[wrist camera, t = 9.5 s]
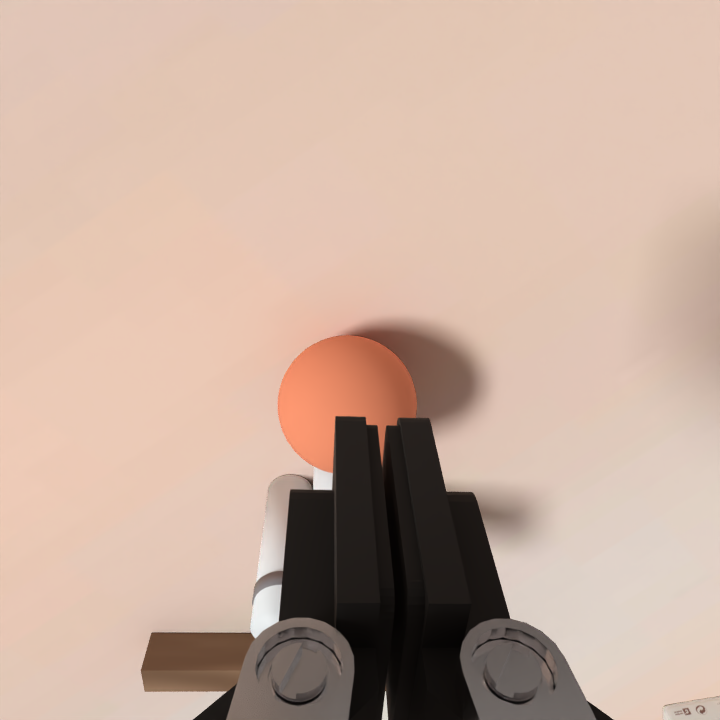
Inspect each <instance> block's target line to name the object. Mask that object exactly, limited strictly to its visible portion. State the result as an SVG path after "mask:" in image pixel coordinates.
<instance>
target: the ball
mask: <svg viewBox="0 0 720 720" xmlns="http://www.w3.org/2000/svg"><path fill="white" fill-rule="evenodd" d="M416 411H417V399H416V391H415V388H414V384H413V381H412V378H411V376H410V374H409V372H408V370H407V368H406V367H405V365H404V364H403V363H402V361H401V360H400V359H399V358H398V357H397V356H396V355H395V354H394V353H393V352H392V351H390V350H389V349H388V348H386V347H385V346H383V345H382V344H380V343H378V342H376V341H373V340H371V339H367V338H364V337H359V336H350V335H346V336H336V337H331V338H327V339H324V340H322V341H319V342H317V343H315V344H313V345H312V346H310V347H308V348H307V349H305V350H304V351H303V352H302V353H301V354H300V355H299V356H298V357H297V358H296V359H295V360H294V361H293V362H292V364H291V365H290V367H289V368H288V370H287V372H286V373H285V376H284V378H283V380H282V383H281V386H280V390H279V396H278V415H279V420H280V424H281V428H282V431H283V433H284V435H285V437H286V439H287V441H288V442H289V444H290V445H291V447H292V448H293V449H294V451H295V452H296V453H297V454H298V455H299V456H300V457H301V458H303V459H304V460H305V461H306V462H308V463H309V464H311V465H313V466H314V467H316V468H318V469H320V470H323V471H326V472H329V473H333V457H334V433H335V416H356V417H366V425H377V426H378V434H379V444H380V453H381V463H382V462H383V451H384V440H385V430H386V426H387V425H396V426H397V420H398V418H416Z"/></svg>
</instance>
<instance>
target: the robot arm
mask: <svg viewBox="0 0 720 720" xmlns="http://www.w3.org/2000/svg"><path fill="white" fill-rule="evenodd" d="M385 687H386V695H387V708H388V720H613V719H612V718H610V717H609V716H608V715H606V714H605V713H603V712H602V711H601V710H599V709H598V708H597V707H595V706H594V705H592V704H591V703H590V702H588V701H587V700H586V698H585V696H584V694H583V692H582V690H581V688H580V686H579V684H578V682H577V680H576V679H575V677H574V675H573V673H572V671H571V669H570V667H569V665H568V663H567V661H566V659H565V657H564V656H563V654H562V653H561V651H560V650H559V648H558V647H557V645H556V644H555V643H554V642H553V641H552V640H551V639H550V638H549V637H547V636H546V635H545V634H544V633H543V632H542V631H540V630H538V629H536V628H534V627H533V626H531V625H529V624H527V623H524V622H520V621H516V620H513V619H510V616H509V612H508V609H507V605H506V602H505V598H504V595H503V591H502V588H501V584H500V580H499V577H498V573H497V570H496V566H495V563H494V559H493V556H492V552H491V549H490V545H489V542H488V538H487V535H486V531H485V528H484V524H483V520H482V517H481V513H480V510H479V506H478V503H477V500H476V497H475V495H474V494H473V493H472V492H446V489H445V484H444V480H443V475H442V471H441V467H440V462H439V458H438V453H437V449H436V445H435V440H434V436H433V431H432V427H431V423H430V419H429V418H398V420H397V426H396V425H387V426H386V430H385V440H384V451H383V462H382V463H381V453H380V444H379V434H378V426H377V425H366V417H356V416H335V433H334V457H333V480H332V490H305V489H290V495H289V506H288V518H287V530H286V541H285V553H284V564H283V576H282V588H281V599H280V611H279V622H277V623H275V624H273V625H272V626H270V627H268V628H267V629H265V630H263V631H262V632H261V633H260V634H259V636H258V637H257V638H256V639H255V640H254V641H253V642H252V644H251V646H250V648H249V650H248V652H247V654H246V656H245V659H244V662H243V665H242V669H241V672H240V675H239V679H238V682H237V684H236V685H235V686H233V687H232V688H231V689H230V690H229V691H227V692H226V693H225V694H224V695H223V696H221V697H220V698H219V699H218V700H216V701H215V702H214V703H213V704H212V705H210V706H209V707H208V708H207V709H206V710H204V711H203V712H202V713H201V714H199V715H198V716H197V717H196V718H195V719H193V720H382V712H383V703H384V695H385Z"/></svg>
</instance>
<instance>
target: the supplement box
mask: <svg viewBox="0 0 720 720" xmlns="http://www.w3.org/2000/svg"><path fill="white" fill-rule="evenodd" d="M663 720H720V696H718V697H712V698H705V699H700V700H694V701H688V702H682V703H676V704H671V705H667V706H664V707H663Z"/></svg>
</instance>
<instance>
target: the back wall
mask: <svg viewBox="0 0 720 720" xmlns="http://www.w3.org/2000/svg"><path fill="white" fill-rule="evenodd" d="M254 640H255V638H254V636H253V635H252V633H151V637H150V640H149V644H148V647H147V651H146V654H145V658H144V661H143V665H142V668H141V674H142V679H143V684H144V690H145V692H166V691H229V690H230V689H231V688H232V687H233V686H235V685H236V684H237V682H238V679H239V675H240V672H241V669H242V665H243V662H244V659H245V656H246V654H247V652H248V650H249V648H250V646H251V644H252V642H253V641H254ZM385 691H386V687H385Z"/></svg>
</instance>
